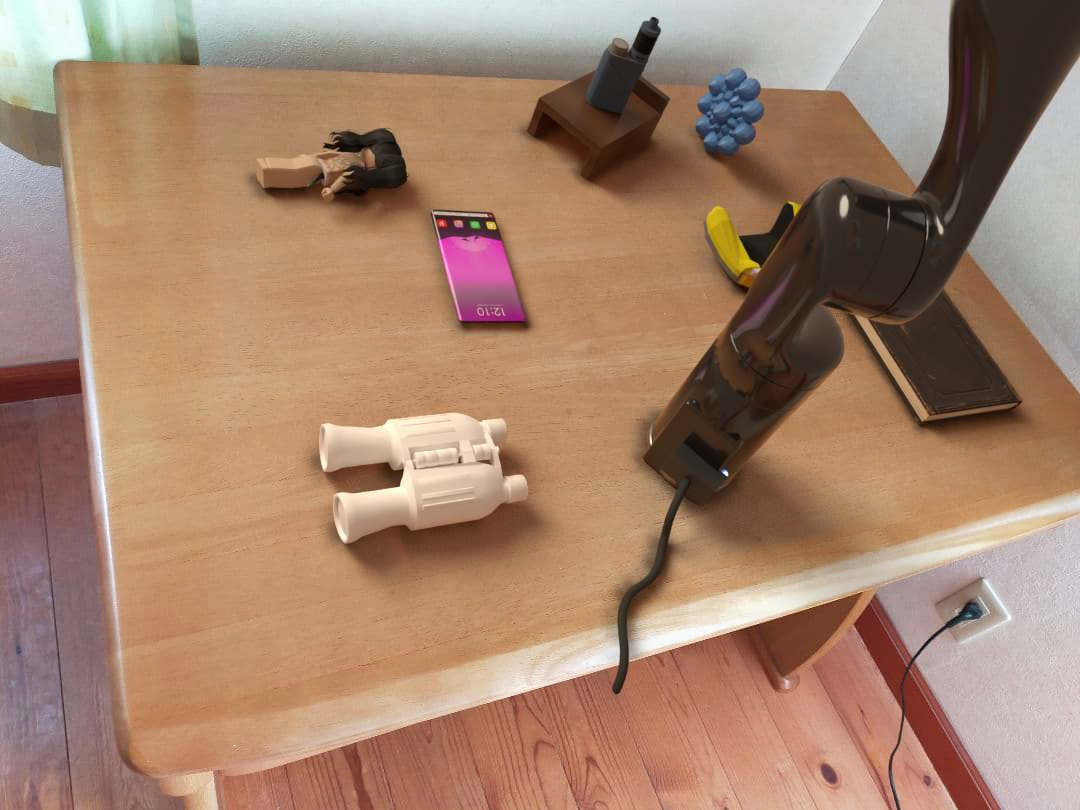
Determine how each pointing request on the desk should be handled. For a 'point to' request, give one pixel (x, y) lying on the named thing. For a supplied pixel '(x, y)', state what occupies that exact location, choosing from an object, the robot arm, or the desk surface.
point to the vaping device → (622, 68)
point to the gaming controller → (744, 243)
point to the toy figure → (341, 165)
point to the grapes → (729, 112)
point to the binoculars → (421, 472)
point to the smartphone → (477, 267)
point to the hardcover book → (939, 365)
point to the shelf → (601, 120)
